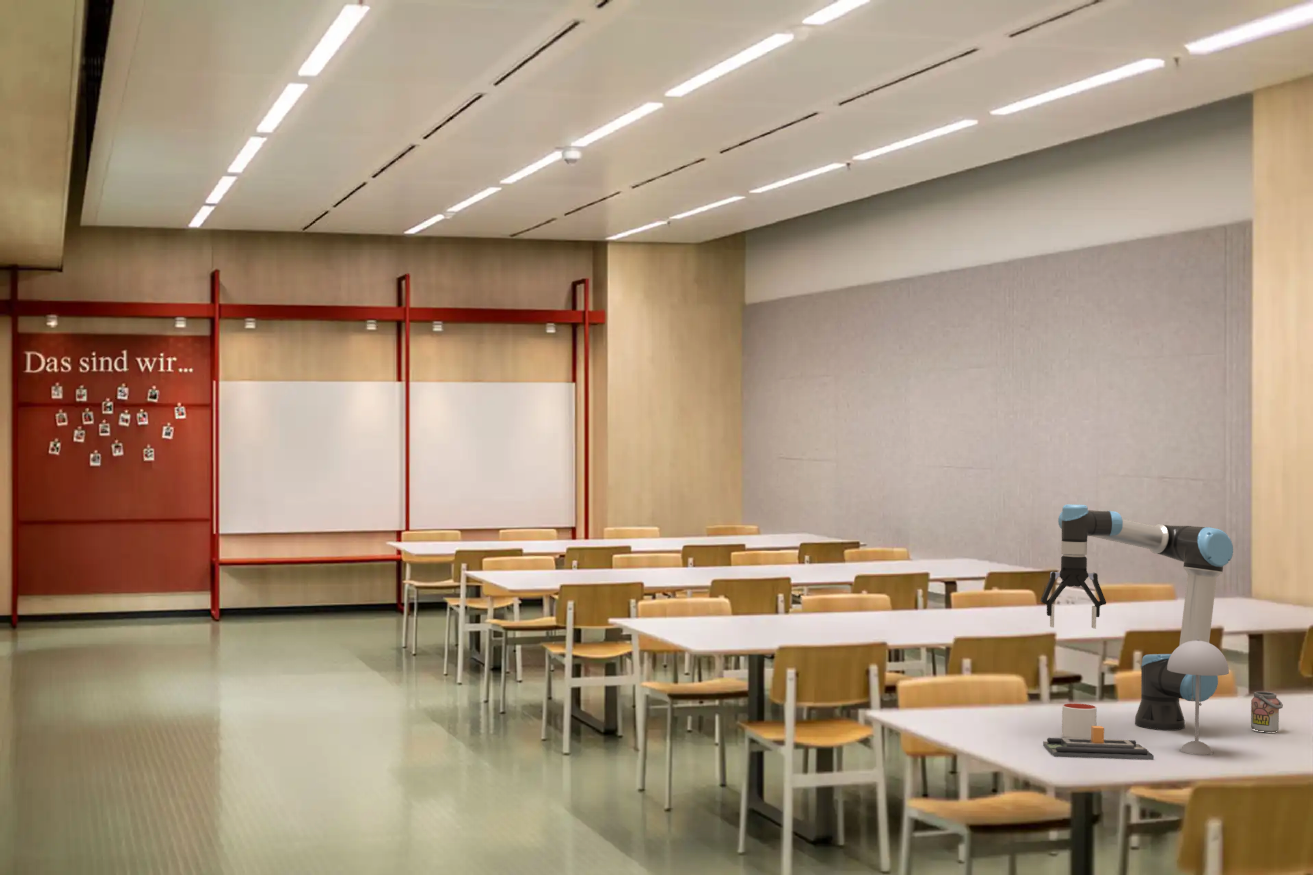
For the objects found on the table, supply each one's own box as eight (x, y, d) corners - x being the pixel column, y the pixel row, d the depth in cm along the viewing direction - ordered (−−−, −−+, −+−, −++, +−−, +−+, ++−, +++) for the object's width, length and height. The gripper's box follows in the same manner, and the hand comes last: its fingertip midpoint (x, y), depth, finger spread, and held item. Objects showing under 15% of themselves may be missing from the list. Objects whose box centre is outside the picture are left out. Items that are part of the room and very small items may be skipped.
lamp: (1220, 760, 427) (1222, 644, 427) (1159, 752, 436) (1161, 639, 436) (1232, 750, 442) (1234, 638, 442) (1173, 743, 451) (1175, 633, 451)
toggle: (1102, 747, 436) (1103, 726, 436) (1105, 749, 433) (1106, 728, 433) (1089, 746, 437) (1089, 725, 437) (1091, 749, 433) (1091, 727, 433)
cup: (1078, 743, 448) (1078, 710, 448) (1054, 737, 457) (1055, 704, 457) (1103, 740, 453) (1103, 707, 453) (1079, 734, 462) (1080, 702, 462)
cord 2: (1146, 753, 428) (1146, 748, 428) (1147, 754, 427) (1147, 749, 427) (1055, 751, 430) (1055, 746, 430) (1056, 752, 429) (1056, 747, 429)
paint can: (1286, 731, 473) (1286, 693, 473) (1276, 735, 466) (1276, 696, 466) (1256, 727, 479) (1257, 690, 479) (1246, 731, 473) (1247, 693, 473)
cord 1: (1134, 744, 441) (1134, 740, 441) (1136, 745, 440) (1136, 740, 440) (1046, 742, 443) (1046, 737, 443) (1047, 743, 442) (1047, 738, 442)
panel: (1139, 748, 442) (1139, 737, 442) (1153, 759, 426) (1153, 748, 426) (1043, 745, 444) (1043, 734, 444) (1053, 756, 428) (1054, 745, 428)
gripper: (1111, 555, 454) (1110, 627, 454) (1031, 553, 456) (1030, 624, 456) (1117, 557, 447) (1116, 630, 447) (1035, 555, 449) (1034, 627, 449)
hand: (1072, 627), depth 451 cm, fingers open, 12 cm apart
